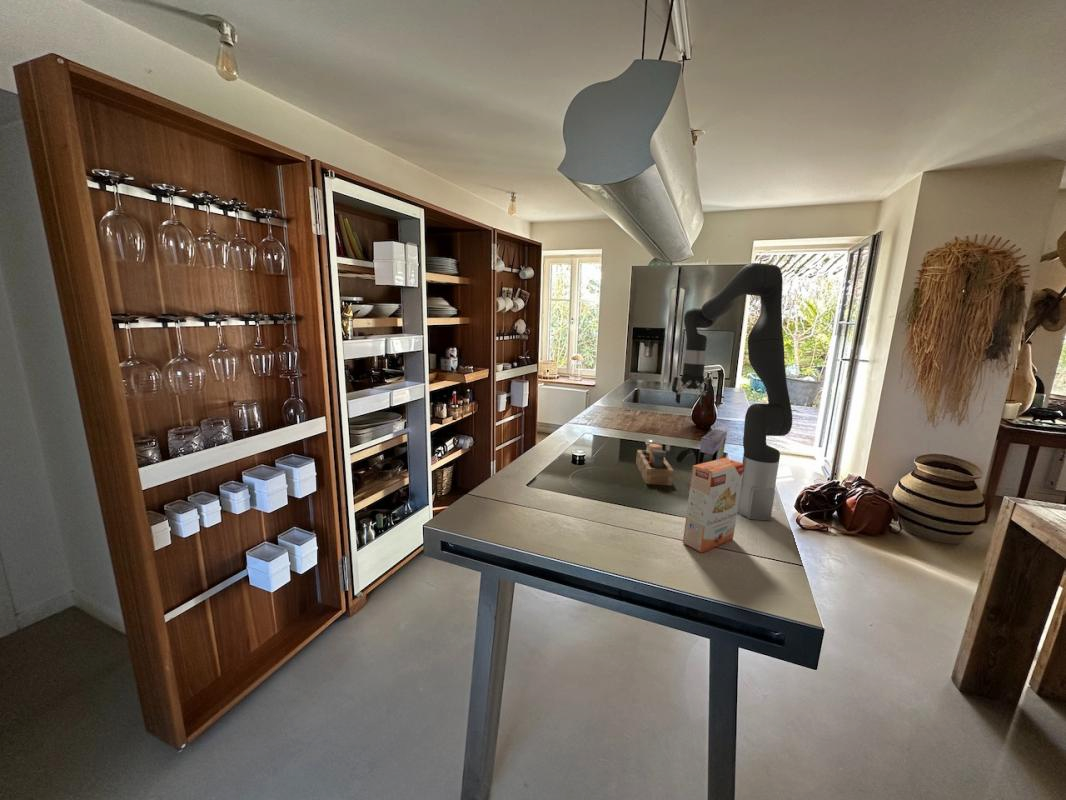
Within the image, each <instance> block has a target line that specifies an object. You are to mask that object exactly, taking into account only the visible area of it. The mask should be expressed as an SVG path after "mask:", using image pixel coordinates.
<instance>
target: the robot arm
mask: <svg viewBox="0 0 1066 800" xmlns="http://www.w3.org/2000/svg"><path fill="white" fill-rule="evenodd" d="M783 283H784V282H783V273H782V271H781V268H780V267H779V266H778V265H775V264H769V263H758V262H757V263H756V262H751V263H748V264H745V265H744V266H743V267H742V268H741V269H740V270H738V272H737V273H736V274H735V275H734V276H733V277H732V278H731V279H730V280H729V282H727V283H726V285H725V286H724V287H723V288H722V289H721V290H720V291H719V292H718V293H717V294H715V295H713V296H712V297H710V298H709V299H708V300H707V301H705V302H704V303H703V304H702V306H701V308H697V307H696V308H695V307H694V308H693V307H692V308H689V309H688V310H686V312H685V314H684V318H683V322H684V328H685V329H684V330H685V334H686V335H685V336H686V346H685V353H684V357H683V367H682V375H681V377H680V376H676V375H674V376H673V378H672V385H671V390H670V391H672V393H675V398H674V399H675V402H676V404H677V405H679V404H680V403H681V397H682V396H681V395H682V392H684V391H685V390H686V389H687V390H688V389H689V390H691V389H692V390H698V391H699V393H700V396H699V403H698V404H699V405H700V406H704V404H705V402H706V396H707V395H711V394H712V388H713V379H712V378H710V377H708V378H707V377H706V378H705V377H704V375H705V368H706V367H705V364H706V359H707V358H706V356H707V355H706V349H707V341H708V340H707V339H708V337H707V336H706V335H704V334H701V333H699V332H698V329H708V328H711V327H713V325H714V324H715V323H716V322H717V320H718V319H719V318H720V317H721V316H723V315H725V314H726V313H728V312H729V311H730V310H731V309H732V308H733V306H734V304H735V300H736V298H738V297H741V296H743V295H747V296H756V297H757V296H759V298H760V313H759V316H758V319H757V320H756V321H755V324H754V325H753V327H752V329H751V331H750V332H749V335H748V338H747V354H748V360H749V364H750V366H751V367H752V369H753V371H754V372H755V374H756V375H757V376H758V378H759V379H760V380H761V383H762V384H763V386H764V388H765V390H766V394H767V395H766V396H767V402H768V403H754V404H753V403H752V404H751V405H750V406H749V407H748V408H747V410H746V412H745V416H744V417H745V418H744V424H743V425H744V426H743V436H742V437H743V439H742V446H743V456H742V462H741V463H743V464H745V466H744V472H743V478H742V485H741V491H740V497H739V504H738V510H737V514H740V515H741V516H744V517H746V518H747V519H750V520H758V521H759V520H761V521H771V519H772V514H773V513H772V512H773V506H774V500H775V495H776V485H777V483H776V482H777V477H778V471H779V464H780V459H781V453H780V451H779V450H778V449H777V448H775V447H772V446H770V445H768V444H767V437H783V436H786V435H788V434H789V433H790V432H791V429H792V427H793V410H792V406H791V405H792V404H791V400H790V396H789V395H790V394H789V389H788V382H787V375H786V372H787V371H786V365H785V361H786V360H785V359H786V358H785V344H784V343H785V342H784V335H783V334H784V333H783V315H782V314H783V313H782V312H783V311H782V307H783V306H782V304H783V303H782V302H783V285H784V284H783ZM680 381H681V383H682V384H681V385H680V386H679V387H678V388H677V386H678V383H680ZM704 383H705V385H706V387H705V389H706V390H704V388H703V386H702V384H704Z"/></svg>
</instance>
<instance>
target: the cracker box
mask: <svg viewBox="0 0 1066 800" xmlns="http://www.w3.org/2000/svg"><path fill="white" fill-rule="evenodd" d="M744 466H745V464H743V463H742V462H740V461H736V460H733V459H731V458H730V459H729V458H727V457H723V458H722V459H718V460H714V461H710V462H706V463H701V464H698V463H697V464H694V465H692V469H691V475H690V476H691V477H690V484H689V485H690V486H689V494H688V500H687V507H686V515H685V522H684V523H685V524H684V530H683V531H684V532H683V539H682V543H683V544H684V545H686V546H688V547H689V548H691V549H693V550H695V551H697V552H699V553H701V554H702V553H704V552H707V551H709V550H711V549H713V548H716V547H719V546H720V545H722V544H725V543H727V542H730V541H732V540H733V539H734V537H735V535H734V534H735V528H736V522H737V516H738V512H737V510H738V504H739V497H740V491H741V485H742V478H743V472H744Z"/></svg>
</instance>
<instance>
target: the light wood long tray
mask: <svg viewBox="0 0 1066 800" xmlns="http://www.w3.org/2000/svg"><path fill="white" fill-rule="evenodd" d="M649 458H650V456H646V450H643V449H637V451H636V459H635V464H636V466H637V468H638V470H639V473H640V475H641V477H642V479H643V481H644V484H646V485H658V486H659V485H660V486H670V487H671V486H673V482H674V473H675V472H674V469H673V467H672V466H671V464H670V463H669V462H668V460H667V459H666V457H664V462H663V469H659V468H653V462H649Z"/></svg>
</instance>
